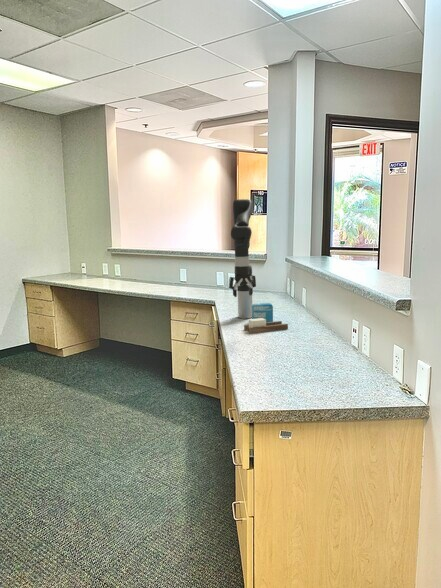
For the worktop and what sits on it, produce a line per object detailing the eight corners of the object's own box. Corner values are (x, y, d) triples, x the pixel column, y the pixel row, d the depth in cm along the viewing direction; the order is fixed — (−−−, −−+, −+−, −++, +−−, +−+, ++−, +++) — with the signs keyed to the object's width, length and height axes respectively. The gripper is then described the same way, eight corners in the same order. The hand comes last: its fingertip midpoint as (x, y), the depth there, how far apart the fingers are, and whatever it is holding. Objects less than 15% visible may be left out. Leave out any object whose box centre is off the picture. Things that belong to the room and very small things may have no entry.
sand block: (248, 330, 229) (248, 319, 228) (262, 328, 232) (262, 317, 231) (252, 332, 225) (252, 321, 224) (266, 330, 227) (266, 319, 226)
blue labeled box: (252, 325, 247) (252, 304, 245) (252, 323, 251) (251, 303, 249) (273, 324, 246) (272, 304, 245) (272, 322, 251) (272, 302, 249)
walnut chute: (243, 331, 231) (243, 324, 231) (280, 327, 238) (280, 320, 238) (250, 336, 222) (250, 328, 221) (288, 331, 229) (288, 324, 228)
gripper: (251, 263, 226) (252, 294, 228) (226, 265, 221) (227, 296, 223) (257, 264, 219) (258, 295, 221) (231, 266, 214) (232, 298, 216)
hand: (242, 296), depth 222 cm, fingers open, 8 cm apart
